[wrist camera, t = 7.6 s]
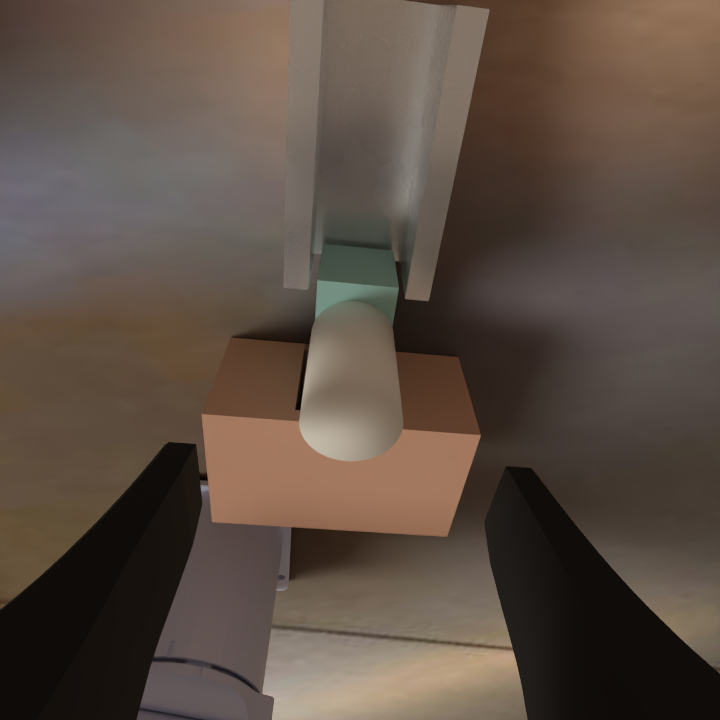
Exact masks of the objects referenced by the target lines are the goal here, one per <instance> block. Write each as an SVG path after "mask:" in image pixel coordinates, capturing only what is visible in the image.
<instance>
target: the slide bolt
mask: <svg viewBox="0 0 720 720" xmlns="http://www.w3.org/2000/svg"><path fill="white" fill-rule="evenodd" d="M398 291H399V285H398V278H397V271H396V265H395V258H394V251H391V250H381V249H371V248H361V247H351V246H341V245H331V244H323V246H322V253H321V260H320V267H319V274H318V282H317V298H316V313H315V322H314V324H313V327H312V331H311V339H310V346H309V353H308V360H307V367H306V375H305V382H304V389H303V396H302V403H301V411H300V418H299V427H300V431H301V434H302V436H303V438H304V440H305V441H306V442H307V443H308V445H309V446H310V447H312V448H313V449H314V450H315V451H317V452H318V453H320V454H322V455H324V456H326V457H329V458H332V459H336V460H340V461H362V460H367V459H371V458H374V457H377V456H379V455H381V454H383V453H384V452H386V451H388V450H389V449H390V448H391V447H392V446H393V445H394V444H395V443H396V442H397V440H398V439H399V437H400V435H401V433H402V429H403V414H402V405H401V396H400V387H399V378H398V369H397V361H396V352H395V343H394V334H393V328H392V327H393V321H394V315H395V309H396V303H397V297H398Z"/></svg>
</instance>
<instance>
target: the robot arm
mask: <svg viewBox="0 0 720 720" xmlns="http://www.w3.org/2000/svg"><path fill="white" fill-rule="evenodd" d="M484 522H485V529H486V537H487V545H488V551H489V558H490V564H491V568H492V572H493V576H494V580H495V584H496V587H497V591H498V595H499V599H500V602H501V606H502V610H503V613H504V617H505V621H506V625H507V628H508V632H509V636H510V639H511V643H512V647H513V650H514V654H515V658H516V662H517V666H518V671H519V675H520V679H521V684H522V690H523V695H524V701H525V707H526V713H527V718H528V720H720V674H719V673H718V672H717V671H716V670H715V669H714V668H713V667H711V666H710V665H709V664H708V663H707V662H706V661H705V660H703V659H702V658H701V657H700V656H699V655H698V654H697V653H695V652H694V651H693V650H692V649H691V648H690V647H689V646H688V645H687V644H686V643H685V642H684V641H682V640H681V639H680V638H679V637H678V636H677V635H676V634H675V633H674V632H673V631H672V630H671V629H670V628H669V627H668V626H667V625H666V624H665V623H664V622H663V621H662V620H661V619H660V618H659V617H658V616H657V615H656V614H655V613H654V612H653V611H652V610H651V609H650V608H649V607H648V606H647V605H646V604H645V603H644V602H643V601H642V600H641V599H640V598H639V597H638V596H637V595H636V594H635V593H634V592H633V591H632V590H631V589H630V588H629V586H628V585H627V584H626V583H625V582H624V581H623V580H622V579H621V578H620V577H619V575H618V574H617V573H616V572H615V571H614V570H613V569H612V568H611V567H610V565H609V564H608V563H607V562H606V561H605V560H604V559H603V557H602V556H601V555H600V554H599V553H598V552H597V550H596V549H595V548H594V547H593V545H592V544H591V543H590V542H589V541H588V539H587V538H586V537H585V536H584V535H583V533H582V532H581V531H580V530H579V529H578V527H577V526H576V525H575V524H574V522H573V521H572V520H571V519H570V517H569V516H568V515H567V513H566V512H565V511H564V510H563V508H562V507H561V506H560V504H559V503H558V502H557V501H556V499H555V498H554V497H553V495H552V494H551V493H550V492H549V490H548V489H547V488H546V486H545V485H544V484H543V483H542V481H541V480H540V479H539V477H538V476H537V475H536V474H535V472H534V471H533V470H532V469H531V468H522V467H508V466H506V468H505V470H504V473H503V475H502V478H501V480H500V483H499V486H498V488H497V491H496V493H495V496H494V498H493V501H492V504H491V506H490V509H489V511H488V514H487V516H486V519H485V521H484ZM291 528H292V527H281V526H265V525H249V524H233V523H217V522H212V517H211V506H210V496H209V485H208V481H204V480H200V475H199V466H198V457H197V448H196V444H187V443H173V442H168V443H167V444H166V445H164V447H163V448H162V449H161V450H160V451H159V453H158V454H157V455H156V456H155V458H154V459H153V460H152V461H151V462H150V464H149V465H148V466H147V467H146V468H145V469H144V471H143V472H142V473H141V474H140V475H139V476H138V478H137V479H136V480H135V481H134V482H133V483H132V484H131V486H130V487H129V488H128V489H127V490H126V491H125V492H124V493H123V495H122V496H121V497H120V498H119V499H118V500H117V501H116V502H115V503H114V504H113V505H112V506H111V507H110V509H109V510H108V511H107V512H106V513H105V514H104V515H103V516H102V517H101V518H100V519H99V520H98V521H97V522H96V523H95V524H94V525H93V526H92V527H91V528H90V529H89V530H88V531H87V532H86V533H85V534H84V535H83V536H82V537H81V538H80V539H79V540H78V541H77V542H76V543H75V544H74V545H73V546H72V547H71V548H70V549H69V550H68V551H67V552H66V553H65V554H64V555H63V556H62V557H61V558H60V559H59V560H57V561H56V562H55V563H54V564H53V565H52V566H51V567H50V568H49V569H48V570H47V571H45V572H44V573H43V574H42V575H41V576H40V577H39V578H38V579H36V580H35V581H34V582H33V583H32V584H31V585H29V586H28V587H27V588H26V589H25V590H24V591H22V592H21V593H20V594H19V595H18V596H17V597H15V598H14V599H13V600H12V601H10V602H9V603H8V604H7V605H5V606H4V607H3V608H2V609H1V610H0V720H272V712H273V704H274V698H273V697H271V696H267V695H264V694H262V690H263V683H264V676H265V669H266V661H267V654H268V647H269V639H270V632H271V625H272V618H273V610H274V603H275V596H276V590H279V591H281V590H286V589H287V588H288V586H289V571H290V549H291Z"/></svg>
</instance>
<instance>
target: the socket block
mask: <svg viewBox="0 0 720 720" xmlns="http://www.w3.org/2000/svg"><path fill="white" fill-rule="evenodd" d="M309 346H310V344H302V343H290V342H278V341H267V340H255V339H244V338H232V337H231V338H230V341H229V343H228V346H227V349H226V351H225V354H224V357H223V359H222V362H221V364H220V367H219V370H218V372H217V375H216V378H215V380H214V383H213V386H212V388H211V391H210V393H209V396H208V399H207V401H206V404H205V407H204V409H203V412H202V423H203V433H204V444H205V454H206V465H207V475H208V485H209V496H210V506H211V517H212V522H217V523H233V524H249V525H265V526H281V527H297V528H314V529H330V530H346V531H362V532H378V533H394V534H410V535H426V536H442V537H447V536H448V533H449V530H450V527H451V524H452V521H453V518H454V515H455V512H456V509H457V506H458V503H459V500H460V497H461V494H462V491H463V488H464V485H465V482H466V479H467V476H468V473H469V470H470V467H471V464H472V461H473V458H474V455H475V452H476V449H477V446H478V443H479V440H480V437H481V434H480V430H479V427H478V423H477V420H476V416H475V413H474V410H473V406H472V403H471V399H470V396H469V392H468V389H467V385H466V382H465V378H464V375H463V372H462V368H461V365H460V361H459V358H458V357H453V356H441V355H430V354H418V353H406V352H396V361H397V369H398V378H399V387H400V396H401V405H402V414H403V429H402V433H401V435H400V437H399V439H398V440H397V442H396V443H395V444H394V445H393V446H392V447H391V448H390V449H389V450H388V451H386V452H384V453H383V454H381V455H379V456H377V457H374V458H371V459H367V460H362V461H340V460H336V459H332V458H329V457H326V456H324V455H322V454H320V453H318V452H317V451H315V450H314V449H313V448H312V447H310V446H309V445H308V443H307V442H306V441H305V440H304V438H303V436H302V434H301V431H300V427H299V418H300V411H301V403H302V396H303V389H304V382H305V375H306V367H307V360H308V353H309Z"/></svg>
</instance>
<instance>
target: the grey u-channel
mask: <svg viewBox="0 0 720 720" xmlns="http://www.w3.org/2000/svg"><path fill="white" fill-rule="evenodd" d="M489 11H490V9H485V8H477V7H470V6H462V5H436V4H428V3H421V2H413V1H406V0H290V18H289V63H288V108H287V152H286V197H285V242H284V287H283V288H293V289H303V290H308V288H309V282H310V276H311V270H312V264H313V258H314V253H318V254H321V253H322V246H323V244H331V245H341V246H351V247H361V248H371V249H381V250H391V251H394V258H395V261H399V266H400V272H401V278H402V284H403V290H404V296H405V299H411V300H421V301H429V298H430V293H431V288H432V283H433V279H434V274H435V269H436V264H437V259H438V255H439V250H440V245H441V240H442V235H443V231H444V226H445V221H446V216H447V212H448V207H449V202H450V197H451V192H452V188H453V183H454V178H455V173H456V169H457V164H458V159H459V154H460V149H461V145H462V140H463V135H464V130H465V125H466V121H467V116H468V111H469V106H470V102H471V97H472V92H473V87H474V82H475V78H476V73H477V68H478V63H479V59H480V54H481V49H482V44H483V39H484V35H485V30H486V25H487V20H488V15H489Z"/></svg>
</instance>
